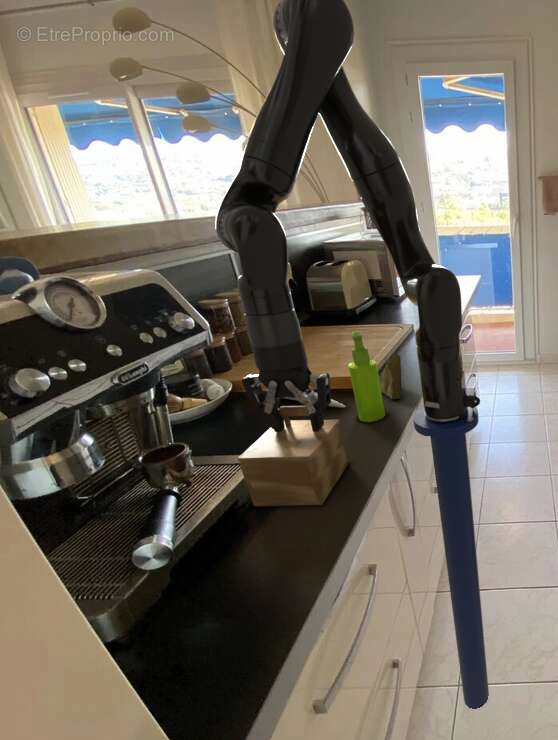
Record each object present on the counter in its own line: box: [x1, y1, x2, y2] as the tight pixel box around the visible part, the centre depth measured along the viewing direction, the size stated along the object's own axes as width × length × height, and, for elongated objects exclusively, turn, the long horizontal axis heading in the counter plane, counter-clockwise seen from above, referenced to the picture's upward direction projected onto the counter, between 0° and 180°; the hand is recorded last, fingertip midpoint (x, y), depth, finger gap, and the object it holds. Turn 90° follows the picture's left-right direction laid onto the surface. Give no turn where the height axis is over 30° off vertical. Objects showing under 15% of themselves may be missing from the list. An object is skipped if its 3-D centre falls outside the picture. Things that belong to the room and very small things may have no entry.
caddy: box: [238, 424, 349, 507], centre depth 79 cm, size 12×11×9 cm
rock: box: [380, 352, 402, 400], centre depth 115 cm, size 11×9×10 cm
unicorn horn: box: [265, 387, 347, 408], centre depth 111 cm, size 5×24×5 cm, turn 65°
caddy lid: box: [237, 405, 341, 463], centre depth 76 cm, size 13×11×5 cm
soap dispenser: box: [348, 330, 386, 423], centre depth 101 cm, size 6×7×20 cm
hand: (298, 429), depth 79 cm, fingers closed on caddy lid, 6 cm apart
